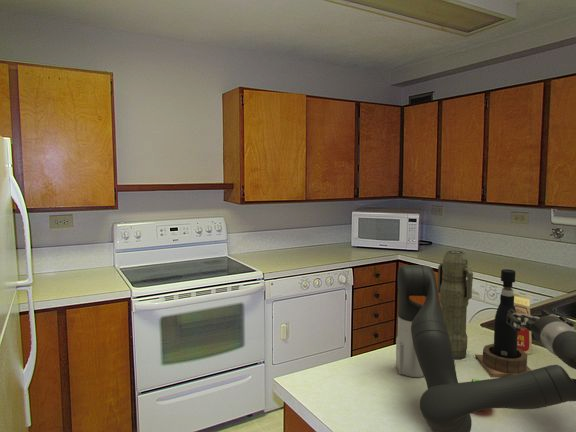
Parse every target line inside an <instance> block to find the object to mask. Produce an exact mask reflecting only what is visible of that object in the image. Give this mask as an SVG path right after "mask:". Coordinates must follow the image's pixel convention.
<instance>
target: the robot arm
mask: <svg viewBox="0 0 576 432" xmlns="http://www.w3.org/2000/svg"><path fill="white" fill-rule="evenodd" d="M411 296H413V297H425V300H424V302H423V304H421V303H419V302H415V300H412V299H410V297H411ZM397 298H398V299H397V301H398V302H397V305H398V306H397V309H398V310H397V336H396V337H395V340H396V341H395V343H396V344H395V367H396V371H397V373H398V374H399V375H403V376H406V377H409V378H410V377H411V378H423V377H424V380H425V383H426V387H427V389H426V390H425V391H424V392H423V393H422V394H421V397H420V399H419V409H420V412H421V416H422V417H423V418H424V420H425V423H427V424H428V427H429V428H430V430H431V431H432V432H471V431H472V426H473V424H472V421H473V420H472V416H471V414H474V413H476V412H479V411H485V410H484V409H486V410H490V409H491V410H492V409H510V410H536V409H543V408H547V407H551V406H555V405H559V404H563V403H564V404H565V403H567V402H576V378H572V377H570V375H569V373H568V372H567V371H566V370H565V368H563V367H562V366H561V365H559V364H550V365H546V366H542V367H539V368H536V369H531V371H527V372H524V373H520V374H516V375H512V376H507V377H494V378H490V379H489V378H488V379H482V380H480V379H478V380H479V381H475V380H473V381H472V380H471V381H465V382H462V381H461V382H458V376H457V371H456V369H457V368H456V364H455V363H456V362H455V359H454V357H453V352H452V347H451V342H450V338H449V334H448V330H447V327H446V324H445V320H444V317H443V313H442V310H441V303H440V294H439V292H438V282H437V279H436V274H435V271H434V269H433V268H432V267H431V266H429V265H426V264H425V265H423V264H421V265H420V264H417V265H416V264H415V265H414V264H410V265H409V264H404V265H403V264H402V265H400V266H399V268H398V270H397ZM530 315H531V314H530ZM530 315H527V314H523V315H521V314H518V313H517V312H515V311H514V310H513V309H509V310H508V314H507V321H506V323H507V324H508V325H510V326H511V327H512V328H513V329H515V330H516V331H521V328H525V329H527V330H529V331H531V334H532V335H533V338H534V339H535V340H536V341H537V342H538V343H539V344H540V345H542V346H543V347H544V348H545V349H546V350H548V352H550V353H551V354H552V355H554V356H556V357H557V358H558V359H559V360H561V361H562V362H563V363H564V364H566V365H567V366H568V367H570V368H571V369H573V370H576V329H575V328H574V327H575V323H574V322H573V321H572V320H570V319H569V318H568V317H566V316H565V315H563V314H561V315H559V316H557V315H556V314H553V313H551V312H550V311H548V310H546V309H541V317H539V316H533V315H531V316H530ZM518 317H520V318H521V320H520V319H518ZM526 318H528V321H527V322H526Z"/></svg>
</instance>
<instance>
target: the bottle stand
mask: <svg viewBox="0 0 576 432" xmlns="http://www.w3.org/2000/svg"><path fill="white" fill-rule="evenodd" d="M493 353H494V343H491V344H486V345H484V346H483V349H482V354H475V355H474V356H475V357H474V358H475V359H476V361H478V363H479V364H480V365H481V367H483V368H484V370H485V371H486V373H487V374H488V375H489V376H490V377H491V378H501V377H507V376H512V375H516V374H520V373H524V372H527V371H531V370H532V369H531V368H530V366H528V354H526V353H525V352H524V351H523V350H521V349H518V348H517V358H516V359H513V358H503V357H499V356H496V355H494V354H493Z"/></svg>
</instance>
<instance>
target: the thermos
mask: <svg viewBox="0 0 576 432" xmlns="http://www.w3.org/2000/svg"><path fill="white" fill-rule="evenodd" d="M468 265H469V262H468V257H467V254H466V253H465V252H463V251H462V250H448V251H446V252H445V254H444V256H443V259H442V263H440V264H439V265H438V267H437V269H438V270H437V289H438V294H439V301H440V306H441V310H442V313H443V317H444V320H445V324H446V327H447V330H448V334H449V338H450V342H451V347H452V352H453V357H454V360H462V359H465V358H467V349H468V335H467V312H468V311H467V307H468V306H469V300H470V299H472V298H473V278H474V272H473V270H472V269H471V268H470V267H468Z"/></svg>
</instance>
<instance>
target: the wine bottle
mask: <svg viewBox="0 0 576 432" xmlns="http://www.w3.org/2000/svg"><path fill="white" fill-rule="evenodd" d="M500 271H501V273H500V281H501V282H503V283H502V288H501V292H500V293H501V294H500V295H499V296H500V298H499V305H498V307H497V309H496V311H495V316H494V330H493V332H494V333H493V334H494V335H493V344H494V353H493V354H494V355H496V356H499V357H503V358H513V359H516V358H517V336H518V331H516V330H515V329H513V328H512V327H511V326H510V325H508V324H507V323H506V321H507V314H508V310H509V309H513V310H514V311H515V312H516V310H515V307H514V295H513V293H515V291H514V289H513V283H515V282H516V271H515V270H514V269H506V268H505V269H501V270H500Z"/></svg>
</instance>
